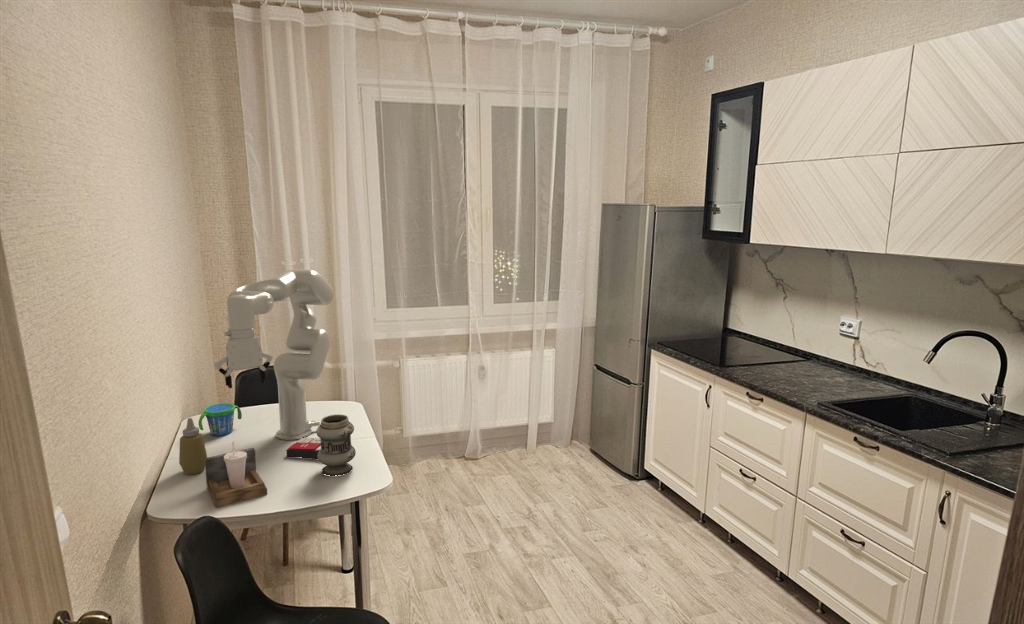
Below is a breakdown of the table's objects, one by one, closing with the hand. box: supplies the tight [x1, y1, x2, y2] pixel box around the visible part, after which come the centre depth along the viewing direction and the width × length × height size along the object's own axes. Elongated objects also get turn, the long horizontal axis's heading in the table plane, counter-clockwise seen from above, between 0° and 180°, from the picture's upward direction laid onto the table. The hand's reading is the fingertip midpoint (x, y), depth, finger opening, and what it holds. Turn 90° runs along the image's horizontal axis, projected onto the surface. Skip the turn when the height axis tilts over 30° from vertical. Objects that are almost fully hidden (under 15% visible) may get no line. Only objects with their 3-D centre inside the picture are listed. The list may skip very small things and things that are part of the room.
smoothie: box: [224, 441, 247, 488], centre depth 175 cm, size 6×6×14 cm
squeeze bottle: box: [178, 417, 208, 475], centre depth 188 cm, size 8×8×18 cm
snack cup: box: [198, 402, 243, 437], centre depth 221 cm, size 16×10×10 cm
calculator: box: [285, 437, 321, 460], centre depth 205 cm, size 11×4×15 cm
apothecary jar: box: [315, 413, 356, 477], centre depth 190 cm, size 12×12×18 cm
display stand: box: [204, 447, 268, 508], centre depth 175 cm, size 14×14×10 cm
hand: (245, 384), depth 189 cm, fingers open, 9 cm apart
